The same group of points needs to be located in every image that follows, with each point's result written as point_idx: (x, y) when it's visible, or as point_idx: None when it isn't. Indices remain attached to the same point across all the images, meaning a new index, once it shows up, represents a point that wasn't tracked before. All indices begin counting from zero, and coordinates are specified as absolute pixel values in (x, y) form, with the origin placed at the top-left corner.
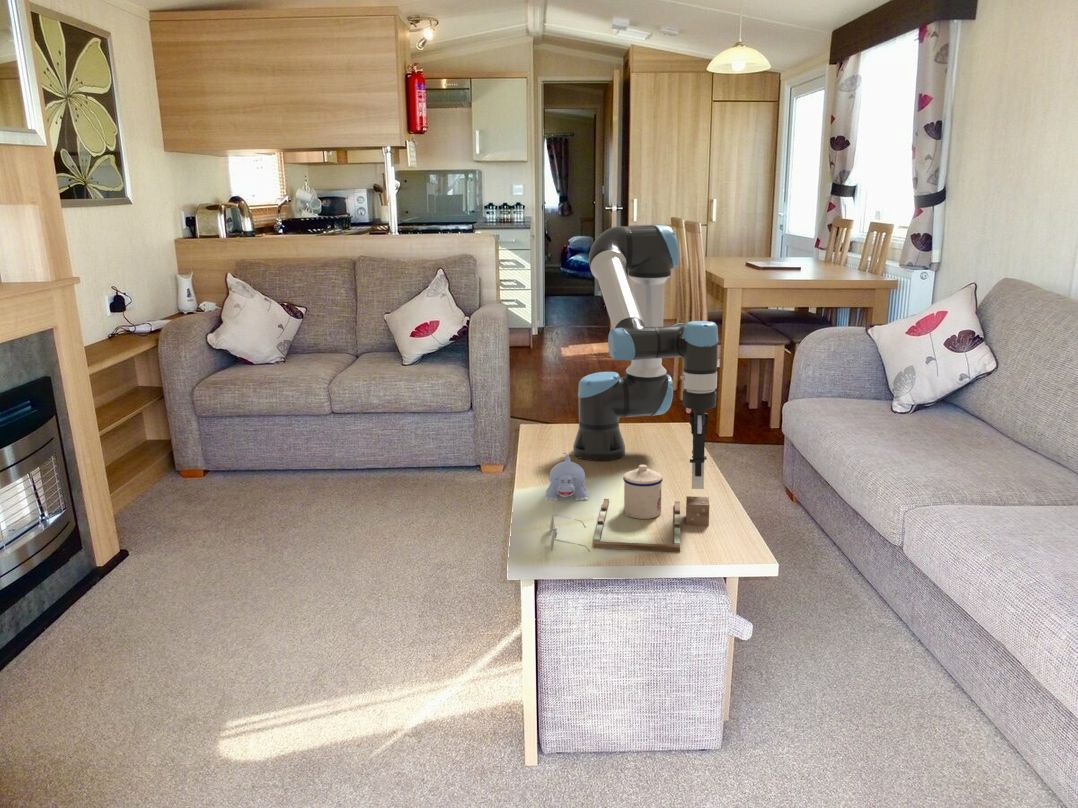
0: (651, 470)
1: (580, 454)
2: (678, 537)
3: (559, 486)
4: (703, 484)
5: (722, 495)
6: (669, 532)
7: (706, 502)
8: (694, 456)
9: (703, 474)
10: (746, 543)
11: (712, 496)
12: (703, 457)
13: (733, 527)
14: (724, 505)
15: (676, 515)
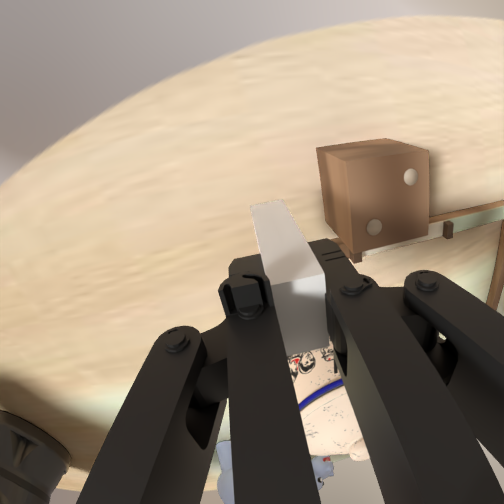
0: (354, 427)
1: (69, 464)
2: (491, 213)
3: (328, 476)
4: (287, 208)
5: (78, 143)
6: (438, 240)
7: (406, 164)
8: (457, 359)
9: (299, 232)
10: (463, 40)
11: (101, 174)
12: (467, 299)
13: (380, 60)
14: (176, 107)
15: (372, 249)
